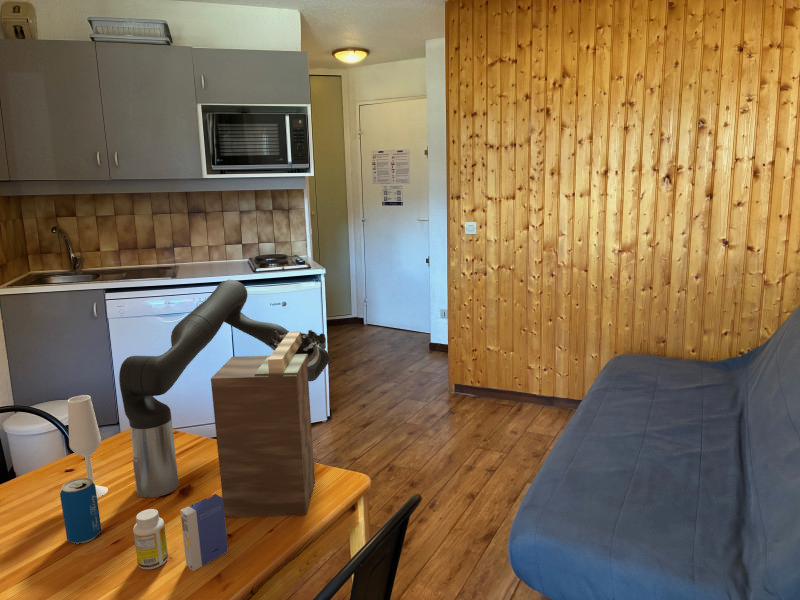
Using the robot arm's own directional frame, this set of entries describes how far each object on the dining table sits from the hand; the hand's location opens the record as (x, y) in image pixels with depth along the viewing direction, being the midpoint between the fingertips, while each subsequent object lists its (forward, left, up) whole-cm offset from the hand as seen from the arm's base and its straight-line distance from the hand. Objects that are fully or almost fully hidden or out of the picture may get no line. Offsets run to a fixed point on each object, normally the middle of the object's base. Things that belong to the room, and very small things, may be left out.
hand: (292, 334), depth 145 cm
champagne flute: (-49, +8, -36) cm, 61 cm away
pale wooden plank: (-3, -8, -3) cm, 9 cm away
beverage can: (-48, -12, -36) cm, 61 cm away
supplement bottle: (-34, -27, -36) cm, 56 cm away
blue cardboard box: (-24, -30, -36) cm, 52 cm away
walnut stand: (-9, -11, -36) cm, 38 cm away
